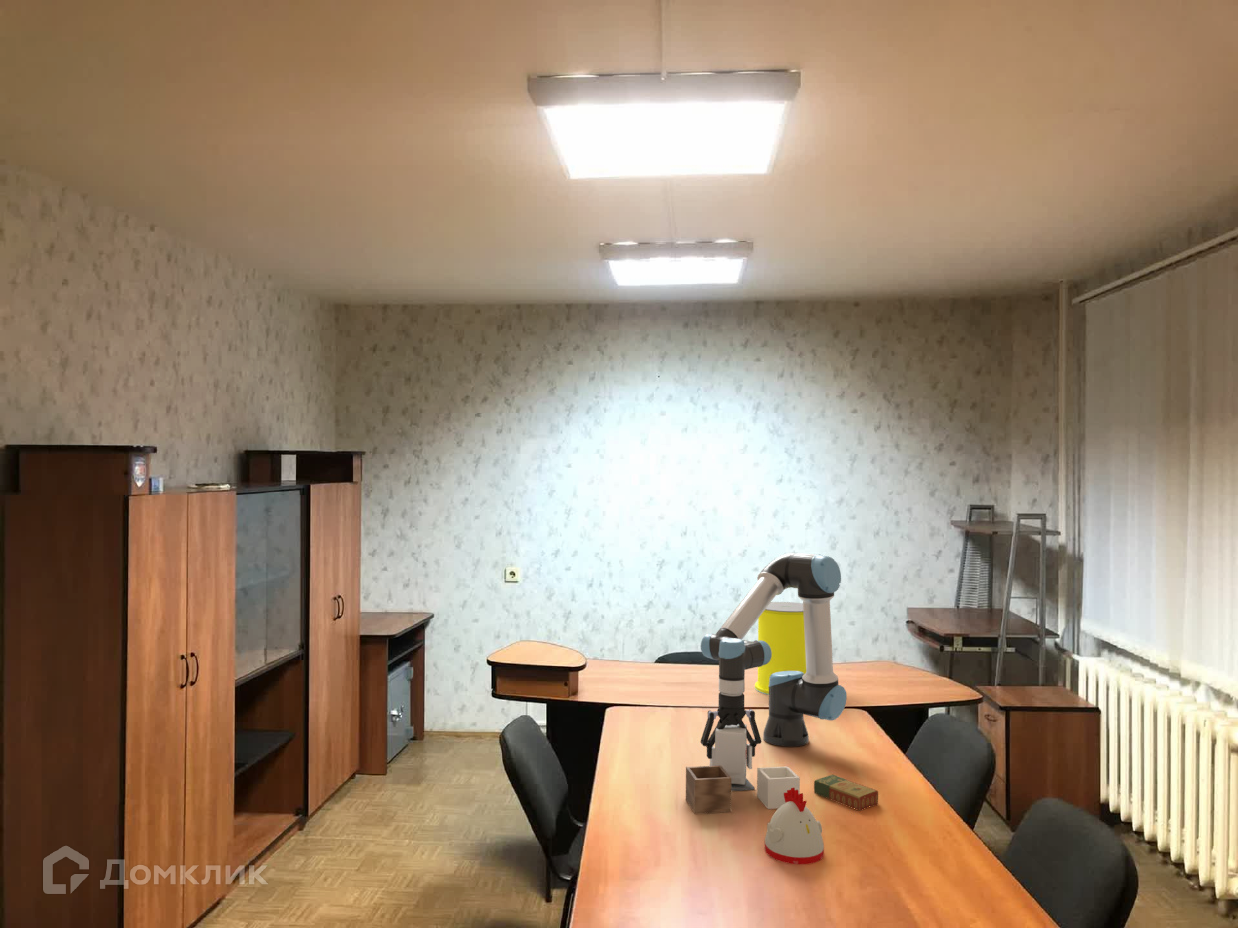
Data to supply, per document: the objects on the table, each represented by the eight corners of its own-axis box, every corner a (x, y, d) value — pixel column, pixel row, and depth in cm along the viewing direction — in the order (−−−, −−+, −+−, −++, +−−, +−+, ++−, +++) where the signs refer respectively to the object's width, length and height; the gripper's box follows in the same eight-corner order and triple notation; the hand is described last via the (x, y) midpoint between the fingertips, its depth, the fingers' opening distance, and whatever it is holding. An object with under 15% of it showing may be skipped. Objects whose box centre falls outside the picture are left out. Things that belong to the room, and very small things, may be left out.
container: (754, 680, 374) (755, 600, 374) (814, 683, 370) (815, 602, 371) (755, 695, 348) (756, 610, 349) (820, 698, 344) (820, 612, 345)
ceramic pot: (787, 794, 240) (787, 766, 240) (799, 806, 231) (799, 777, 231) (757, 796, 239) (757, 767, 239) (767, 808, 230) (768, 779, 230)
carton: (859, 812, 229) (859, 796, 229) (813, 793, 242) (813, 778, 242) (878, 805, 234) (878, 789, 234) (832, 787, 247) (832, 772, 247)
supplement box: (745, 785, 243) (745, 732, 243) (714, 782, 245) (714, 730, 245) (747, 774, 252) (747, 723, 252) (716, 771, 254) (717, 721, 254)
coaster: (742, 776, 255) (742, 774, 255) (754, 789, 244) (754, 787, 244) (707, 777, 253) (707, 775, 253) (717, 791, 242) (717, 789, 242)
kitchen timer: (786, 868, 195) (787, 803, 195) (753, 844, 208) (754, 782, 208) (835, 858, 201) (836, 794, 201) (801, 835, 213) (801, 775, 213)
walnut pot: (720, 797, 237) (720, 765, 237) (731, 811, 227) (731, 777, 228) (685, 799, 236) (685, 766, 236) (694, 813, 226) (695, 779, 226)
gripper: (764, 688, 254) (764, 762, 254) (690, 690, 250) (689, 765, 250) (773, 694, 247) (772, 770, 247) (696, 697, 243) (695, 774, 243)
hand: (730, 768), depth 248 cm, fingers closed on supplement box, 10 cm apart
